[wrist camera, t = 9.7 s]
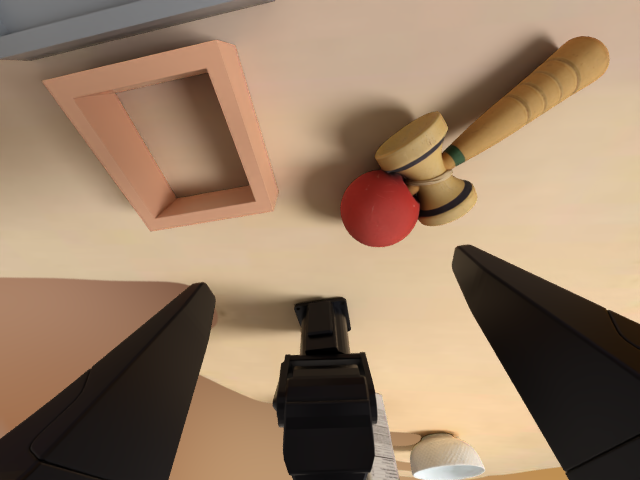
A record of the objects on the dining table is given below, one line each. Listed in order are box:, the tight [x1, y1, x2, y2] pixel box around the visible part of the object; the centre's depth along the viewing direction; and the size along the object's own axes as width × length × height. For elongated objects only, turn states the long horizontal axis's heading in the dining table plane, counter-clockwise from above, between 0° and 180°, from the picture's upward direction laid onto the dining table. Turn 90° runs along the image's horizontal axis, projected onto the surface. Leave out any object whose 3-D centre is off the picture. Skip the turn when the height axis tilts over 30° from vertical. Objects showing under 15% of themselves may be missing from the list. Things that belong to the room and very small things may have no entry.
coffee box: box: [366, 393, 400, 480], centre depth 40 cm, size 9×6×16 cm
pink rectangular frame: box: [42, 40, 279, 231], centre depth 17 cm, size 10×10×4 cm
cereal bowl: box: [410, 433, 485, 480], centre depth 60 cm, size 17×17×7 cm
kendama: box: [340, 36, 610, 247], centre depth 17 cm, size 8×6×18 cm
